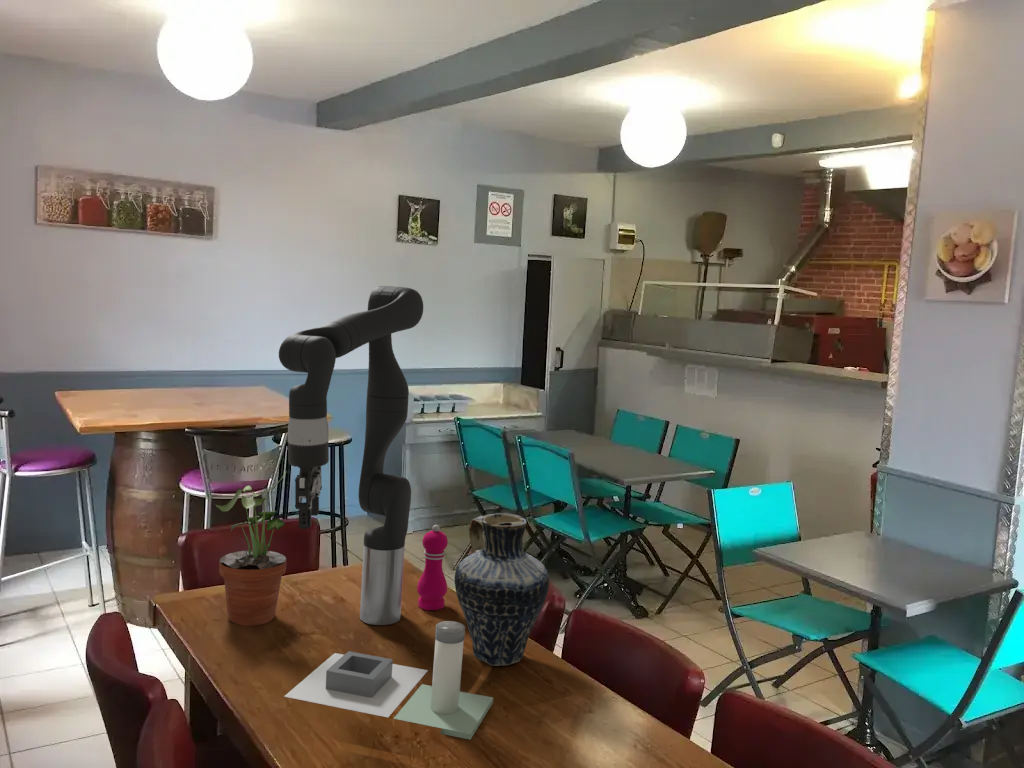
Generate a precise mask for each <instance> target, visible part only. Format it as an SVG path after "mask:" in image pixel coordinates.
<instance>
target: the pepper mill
mask: <svg viewBox="0 0 1024 768" xmlns="http://www.w3.org/2000/svg"><path fill="white" fill-rule="evenodd" d="M431 528H432V529H431V530H429V531H428V532H426V533H425V534H424V535H423V538H422V546H423V548H424V551H423V553H424V554H423V558H424V559H425V562H424V563H425V564H424V570H423V571H422V574H421V576H420V577H419V579H418V582H417V587H416V592H417V593H418V595H419V597H418V600H417V601H418V602H417V603H418V604H417V605H418V608H419V607H420V608H419V609H421V608H422V609H421V610H423V609H425V610H424V611H429V610H436V611H439V610H438V609H440V610H442V609H444V608H445V598H444V596H445V595H446V594H447V593H448V583H447V579H446V576H445V575H444V570H443V561H444V559H445V557H446V556H445V554H446V552H445V550H446V548H447V546H448V545H449V544H448V543H449V542H448V537H447V535H446V533H444V532H443V531H441V530H440V528H441V527H440V526H439V525H438V524H434V525H433V526H432V527H431ZM441 608H442V609H441Z"/></svg>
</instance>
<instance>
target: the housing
mask: <svg viewBox="0 0 1024 768" xmlns="http://www.w3.org/2000/svg"><path fill="white" fill-rule="evenodd" d="M393 660H394V659H393V658H388V657H383V656H377V655H372V654H365V653H361V652H354V651H350V650H348V651H347V652H346V653H345V654H343V653H336V652H334V653H333V654H332V655H331V656H330V657H328V658H327V659H326V660H324V662H323V663H321V664H320V665H318V667H317V668H315V669H314V670H313V671H312V672H311V673H310V674H309V675H307V676H306V677H305V678H304V679H302V681H300V682H299V683H298V684H297V685H295V686H294V687H293V688H292V689H290V691H289V692H287V694H285V695H284V696H283V697H284V698H287V699H288V698H289V699H292V700H293V699H294V700H299V701H303V702H304V701H305V702H308V703H314V704H319V705H323V706H328V707H333V708H337V709H342V710H343V709H344V710H348V711H353V712H359V713H362V714H369V715H372V716H379V717H385V718H390V716H391V715H392V713H394V712H395V710H396V709H398V707H399V706H400V704H401V703H402V702H403V701H404V699H405V698H406V697H407V696H408V695H409V694H410V692H411V691H412V690H413V689H414V688H415V687H416V685H418V683H419V682H420V681H421V679H422V678H423V677H424V676H425V675H426V673H428V671H429V670H428V669H423V668H417V667H413V666H409V665H408V666H407V665H401V664H397V663H393Z"/></svg>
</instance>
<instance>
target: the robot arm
mask: <svg viewBox="0 0 1024 768" xmlns="http://www.w3.org/2000/svg"><path fill="white" fill-rule="evenodd" d="M423 313H424V301H423V298H422V295H421V294H420V293H419V292H418V291H417V290H416V289H413V288H411V287H403V286H391V285H390V286H389V285H388V286H387V285H378V286H375V287H374V288H373V289H372V291H371V292H370V295H369V297H368V302H367V310H365V311H358V312H354V313H350V314H346V315H343V316H340V317H339V318H336V319H334V320H332V321H330V322H328V323H326V324H324V325H321V326H319V327H313V328H308V329H306V330H301V331H300V330H299V331H297V332H294V333H292V334H290V335H288V336H287V337H286V338H285V339H284V340H283V341H282V343H281V344H280V347H279V349H278V359H279V362H280V363H281V365H282V366H283V367H284V368H285V369H286V370H288V371H291V372H294V373H295V372H297V373H307V377H306V380H305V382H304V383H303V384H297V385H294V386H292V387H291V388H290V390H289V394H288V424H287V425H288V426H287V451H288V452H287V453H288V454H287V455H288V456H287V457H288V458H287V460H288V464H289V465H290V466H292V467H294V468H295V467H296V468H299V473H298V474H297V475H296V477H295V478H294V483H295V484H294V485H295V486H294V487H295V488H294V491H295V493H294V494H295V496H294V497H295V500H294V501H295V505H294V508H295V510H297V511H298V528H299V529H301V530H309V529H310V528H311V527H312V516H319V514H320V495H321V491H322V489H323V485H322V467H323V466H325V465H327V464H328V463H329V462H330V461H329V460H330V459H329V458H330V457H329V454H330V453H329V451H330V450H329V424H328V422H329V421H328V417H327V416H328V402H327V401H328V400H327V398H328V397H327V396H328V393H329V389H330V385H331V379H332V376H333V373H334V368H335V364H336V359H339V358H342V357H343V356H346V355H347V354H349V353H351V352H353V351H354V350H356V349H358V348H359V347H362V346H364V345H367V344H368V369H367V371H368V374H367V389H366V403H365V407H366V408H365V432H364V434H365V435H364V446H363V456H362V465H361V468H360V469H361V470H360V476H359V477H360V478H359V485H358V503H359V504H358V505H359V506H360V508H361V510H362V511H364V512H365V513H368V514H374V515H378V516H384V517H385V520H384V525H382V526H376V527H371V528H369V529H368V530H366V531H365V532H364V534H363V535H364V536H363V546H362V547H363V550H362V567H361V568H362V569H361V589H360V604H359V606H360V607H359V620H361V621H362V622H364V623H366V624H368V625H374V626H387V625H393V624H395V623H398V622H399V621H400V620H401V615H402V614H401V613H402V601H403V600H402V597H403V595H402V594H403V582H404V564H405V548H406V546H405V544H406V538H407V534H408V530H409V521H410V511H411V502H412V487H411V483H410V481H409V479H408V478H406V477H403V476H400V475H393V474H387V473H384V466H385V465H384V464H385V459H386V455H387V452H388V450H389V448H390V445H391V444H392V443H393V442H394V440H395V438H396V437H397V436H398V434H399V433H400V431H401V429H402V428H403V427H404V425H405V423H406V421H407V417H408V412H409V411H408V410H409V394H410V393H409V390H410V389H409V385H408V382H407V379H406V377H405V375H404V372H403V370H402V369H401V366H400V365H399V363H398V360H397V358H396V355H395V353H394V349H393V343H392V342H393V341H392V339H393V337H392V334H394V333H398V332H401V331H402V332H403V331H406V330H409V329H412V328H415V327H417V325H418V324H419V323H420V321H421V319H422V317H423ZM303 499H304V500H305V502H304V501H303ZM302 501H303V502H302Z"/></svg>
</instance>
